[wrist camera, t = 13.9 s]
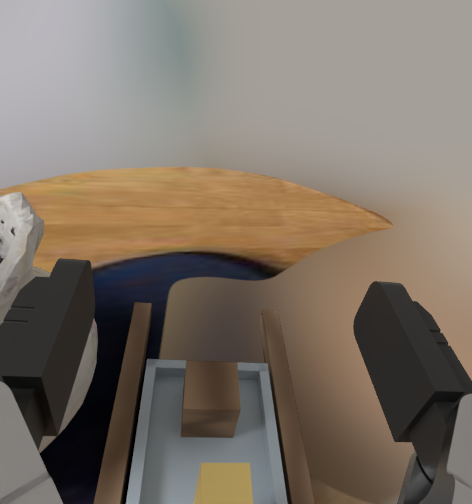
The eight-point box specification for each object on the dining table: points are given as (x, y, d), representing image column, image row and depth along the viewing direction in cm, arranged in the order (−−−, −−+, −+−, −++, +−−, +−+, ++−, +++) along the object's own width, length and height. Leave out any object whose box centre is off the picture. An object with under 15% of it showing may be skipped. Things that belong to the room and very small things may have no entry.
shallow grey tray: (117, 586, 28) (105, 521, 20) (147, 374, 43) (147, 287, 35) (288, 579, 30) (340, 517, 22) (262, 378, 44) (288, 296, 36)
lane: (89, 546, 30) (86, 535, 29) (135, 315, 49) (135, 302, 47) (312, 540, 32) (320, 530, 31) (274, 323, 51) (277, 310, 50)
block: (180, 437, 36) (183, 408, 33) (183, 389, 40) (186, 360, 37) (232, 437, 37) (240, 409, 34) (230, 391, 41) (237, 362, 38)
